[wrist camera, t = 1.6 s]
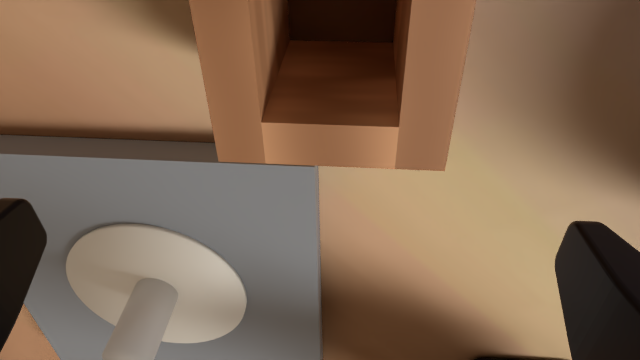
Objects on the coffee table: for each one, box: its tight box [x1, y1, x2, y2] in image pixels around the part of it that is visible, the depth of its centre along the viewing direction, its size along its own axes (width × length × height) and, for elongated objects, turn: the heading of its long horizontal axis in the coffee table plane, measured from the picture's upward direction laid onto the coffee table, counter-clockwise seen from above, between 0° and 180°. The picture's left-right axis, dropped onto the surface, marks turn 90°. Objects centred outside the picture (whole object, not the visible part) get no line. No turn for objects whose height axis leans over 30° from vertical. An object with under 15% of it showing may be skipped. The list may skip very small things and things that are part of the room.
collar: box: [189, 0, 476, 171], centre depth 15 cm, size 7×7×6 cm
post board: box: [0, 135, 323, 360], centre depth 26 cm, size 18×18×6 cm
